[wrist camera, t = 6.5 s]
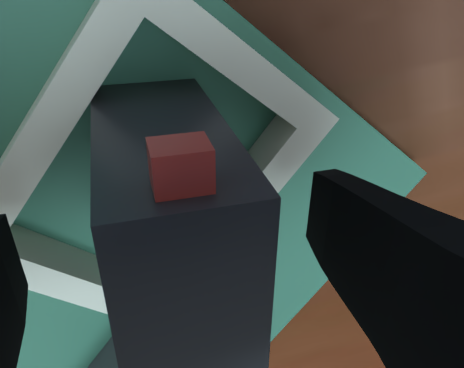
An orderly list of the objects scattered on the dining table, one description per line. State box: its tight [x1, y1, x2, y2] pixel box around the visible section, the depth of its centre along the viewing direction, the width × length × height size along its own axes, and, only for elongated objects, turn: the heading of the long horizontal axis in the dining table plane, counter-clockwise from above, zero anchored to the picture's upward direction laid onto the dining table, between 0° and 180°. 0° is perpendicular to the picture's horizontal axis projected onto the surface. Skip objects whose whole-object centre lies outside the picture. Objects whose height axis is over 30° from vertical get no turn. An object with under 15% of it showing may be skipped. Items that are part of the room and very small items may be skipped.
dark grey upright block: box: [90, 78, 281, 368], centre depth 11 cm, size 3×6×7 cm, turn 179°
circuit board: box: [0, 0, 427, 368], centre depth 14 cm, size 20×16×4 cm
